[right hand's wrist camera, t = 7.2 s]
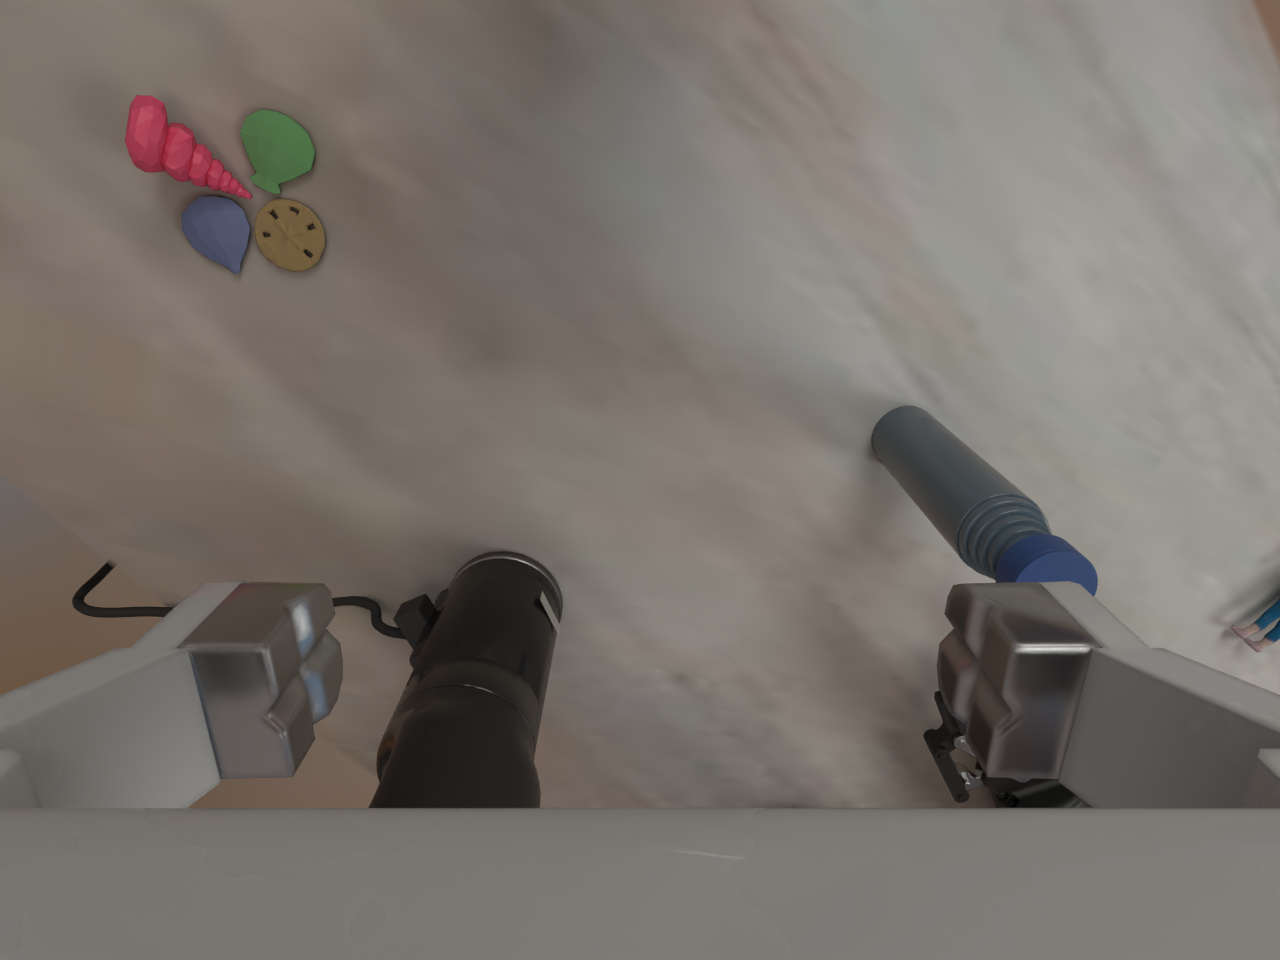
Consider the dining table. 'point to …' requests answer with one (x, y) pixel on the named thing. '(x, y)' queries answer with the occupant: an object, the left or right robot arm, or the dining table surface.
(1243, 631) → the figurine
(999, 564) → the cap
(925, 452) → the bottle
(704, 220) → the dining table surface
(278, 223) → the toy pieces
